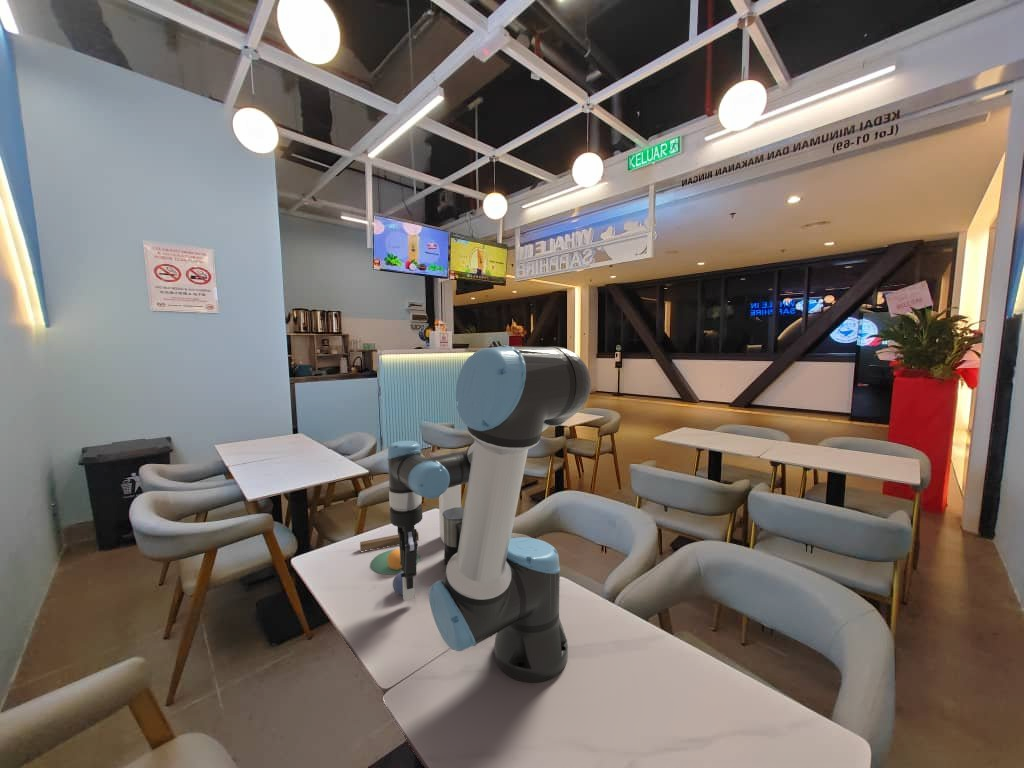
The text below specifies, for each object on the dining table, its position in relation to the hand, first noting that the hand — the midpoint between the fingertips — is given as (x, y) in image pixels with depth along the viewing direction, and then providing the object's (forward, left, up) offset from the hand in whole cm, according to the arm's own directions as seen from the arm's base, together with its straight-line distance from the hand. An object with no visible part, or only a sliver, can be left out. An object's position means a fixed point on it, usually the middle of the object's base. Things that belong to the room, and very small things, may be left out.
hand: (409, 598), depth 97 cm
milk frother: (+14, -21, -2) cm, 25 cm away
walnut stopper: (+34, 0, -2) cm, 34 cm away
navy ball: (+6, 0, +1) cm, 6 cm away
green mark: (+23, 0, -2) cm, 23 cm away
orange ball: (+19, 0, +1) cm, 19 cm away
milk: (+30, -19, -2) cm, 35 cm away
